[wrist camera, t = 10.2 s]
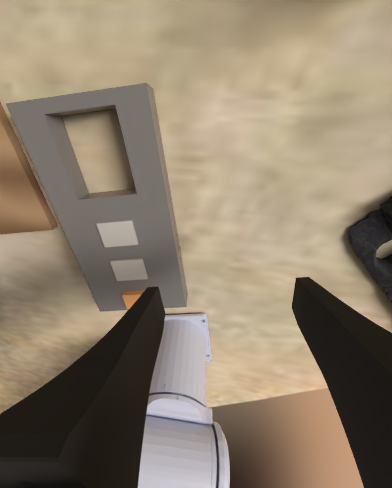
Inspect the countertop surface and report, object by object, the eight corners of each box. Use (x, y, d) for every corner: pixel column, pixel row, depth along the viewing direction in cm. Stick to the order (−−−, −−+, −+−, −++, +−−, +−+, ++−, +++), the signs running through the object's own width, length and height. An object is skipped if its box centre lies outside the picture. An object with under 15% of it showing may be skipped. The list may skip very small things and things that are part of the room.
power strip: (187, 294, 25) (185, 310, 23) (107, 298, 26) (97, 315, 23) (152, 88, 15) (143, 81, 13) (27, 106, 16) (-2, 102, 14)
